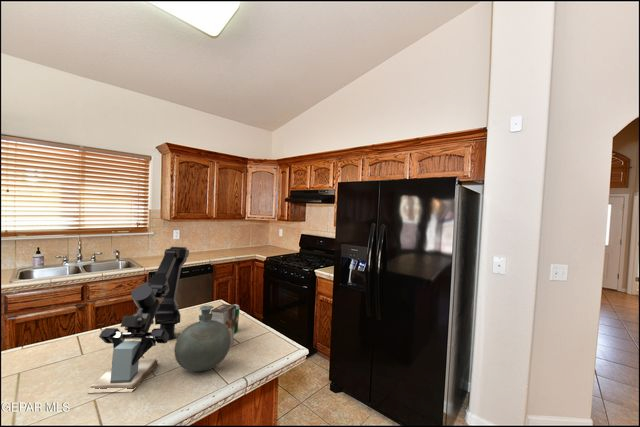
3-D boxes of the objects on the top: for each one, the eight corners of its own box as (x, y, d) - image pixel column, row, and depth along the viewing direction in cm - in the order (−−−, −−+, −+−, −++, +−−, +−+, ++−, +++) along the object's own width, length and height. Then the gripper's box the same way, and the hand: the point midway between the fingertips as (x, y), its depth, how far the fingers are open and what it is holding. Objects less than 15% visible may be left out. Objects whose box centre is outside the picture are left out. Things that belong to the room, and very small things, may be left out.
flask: (184, 360, 94) (189, 300, 95) (231, 362, 94) (236, 302, 96) (167, 379, 82) (173, 310, 83) (220, 381, 83) (226, 313, 84)
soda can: (226, 329, 122) (228, 304, 123) (237, 328, 124) (239, 303, 125) (226, 334, 118) (229, 307, 118) (238, 333, 120) (240, 307, 120)
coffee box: (220, 340, 111) (223, 303, 112) (233, 342, 110) (236, 305, 111) (207, 350, 102) (210, 309, 103) (221, 353, 101) (224, 311, 102)
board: (120, 364, 89) (121, 358, 89) (157, 363, 91) (157, 357, 91) (87, 393, 73) (88, 386, 74) (132, 392, 75) (133, 385, 75)
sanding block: (120, 373, 80) (123, 341, 81) (137, 372, 81) (140, 341, 82) (110, 383, 76) (113, 348, 76) (128, 382, 76) (132, 348, 77)
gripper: (106, 302, 82) (74, 355, 70) (168, 304, 84) (148, 355, 73) (119, 318, 89) (92, 368, 78) (176, 319, 92) (158, 367, 80)
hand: (122, 365), depth 77 cm, fingers closed on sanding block, 5 cm apart
